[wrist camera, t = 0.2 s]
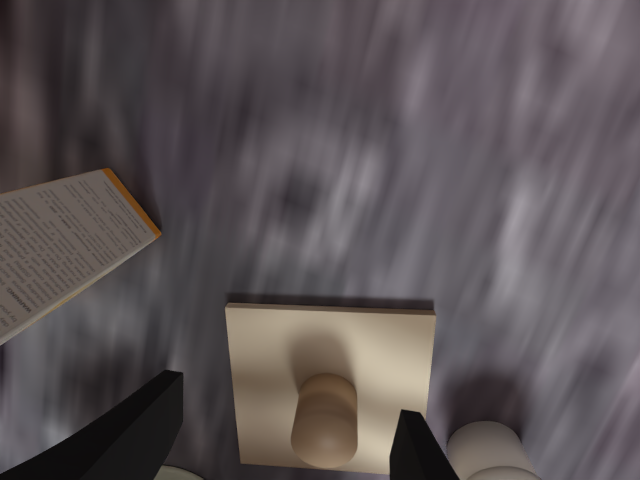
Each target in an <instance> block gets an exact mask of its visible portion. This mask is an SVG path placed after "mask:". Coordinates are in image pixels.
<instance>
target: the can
mask: <svg viewBox="0 0 640 480" xmlns="http://www.w3.org/2000/svg"><path fill="white" fill-rule="evenodd" d="M154 480H204V479H203V478H201V477H199V476H197V475H196V474H194V473H191V472H189V471H187V470H184V469H180V468H176V467H172V466H164V465H162V466H161V468H160V470H159V471H158V473H157V475H156V477H155V478H154Z"/></svg>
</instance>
